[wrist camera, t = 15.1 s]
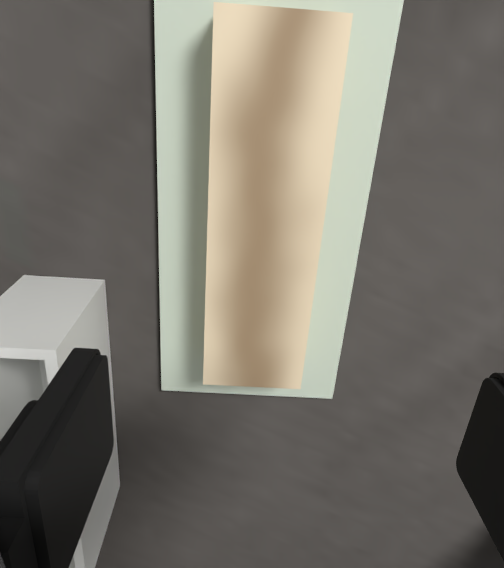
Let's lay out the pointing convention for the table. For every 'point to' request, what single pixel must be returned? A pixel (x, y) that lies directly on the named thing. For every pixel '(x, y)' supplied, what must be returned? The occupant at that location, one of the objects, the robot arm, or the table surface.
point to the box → (56, 367)
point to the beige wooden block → (268, 185)
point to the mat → (195, 178)
